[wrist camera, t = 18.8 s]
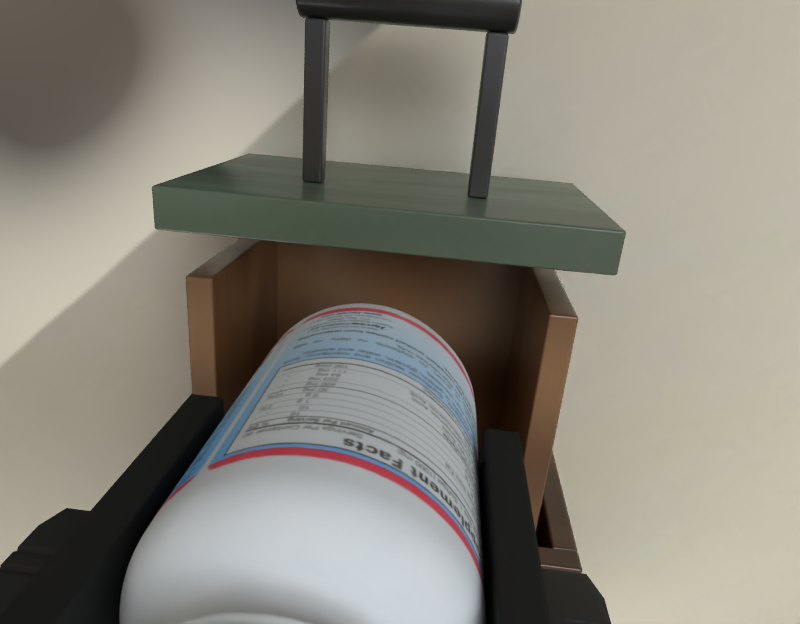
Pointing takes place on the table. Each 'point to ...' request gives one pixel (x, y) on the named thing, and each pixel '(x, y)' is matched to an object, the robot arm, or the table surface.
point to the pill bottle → (327, 489)
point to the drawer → (396, 244)
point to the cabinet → (556, 528)
